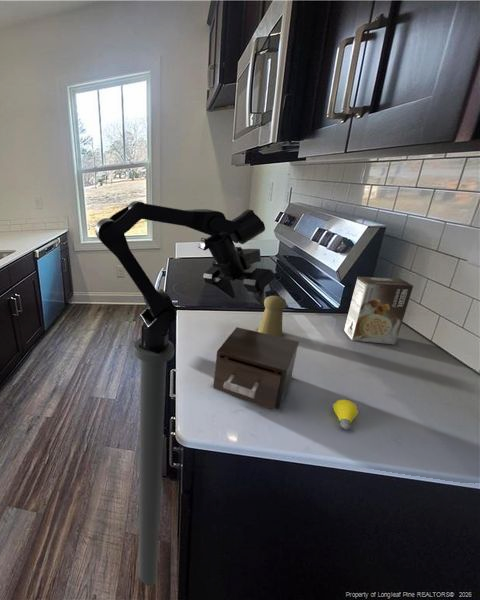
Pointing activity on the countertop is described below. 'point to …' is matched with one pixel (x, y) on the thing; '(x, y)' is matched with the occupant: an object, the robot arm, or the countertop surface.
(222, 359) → the drawer
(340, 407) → the light bulb
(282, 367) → the cabinet
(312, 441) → the countertop surface
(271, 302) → the cork
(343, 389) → the countertop surface
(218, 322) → the countertop surface
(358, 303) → the coffee box
